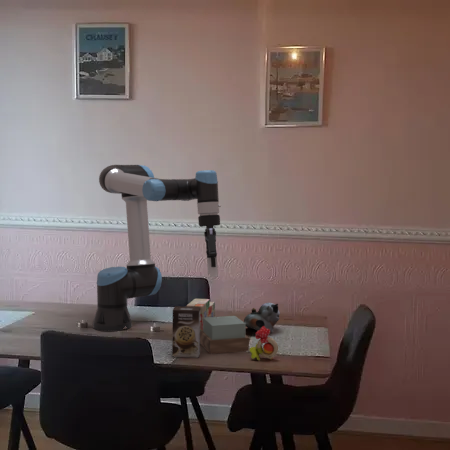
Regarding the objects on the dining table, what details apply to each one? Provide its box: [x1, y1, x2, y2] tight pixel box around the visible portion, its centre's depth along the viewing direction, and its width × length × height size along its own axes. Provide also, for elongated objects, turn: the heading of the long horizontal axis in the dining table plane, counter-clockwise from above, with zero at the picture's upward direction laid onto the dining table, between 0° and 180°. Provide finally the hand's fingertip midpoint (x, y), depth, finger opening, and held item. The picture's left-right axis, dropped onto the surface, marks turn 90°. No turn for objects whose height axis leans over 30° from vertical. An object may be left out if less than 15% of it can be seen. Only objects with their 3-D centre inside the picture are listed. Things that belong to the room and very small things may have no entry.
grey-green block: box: [203, 315, 247, 340], centre depth 215 cm, size 12×12×5 cm
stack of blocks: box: [186, 298, 216, 331], centre depth 238 cm, size 21×6×12 cm, turn 168°
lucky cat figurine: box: [243, 302, 281, 335], centre depth 237 cm, size 15×12×14 cm
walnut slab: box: [200, 330, 250, 355], centre depth 216 cm, size 14×14×5 cm
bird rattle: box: [249, 326, 279, 361], centre depth 202 cm, size 6×11×9 cm
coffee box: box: [171, 305, 201, 359], centre depth 206 cm, size 9×6×16 cm
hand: (212, 275), depth 213 cm, fingers open, 13 cm apart
